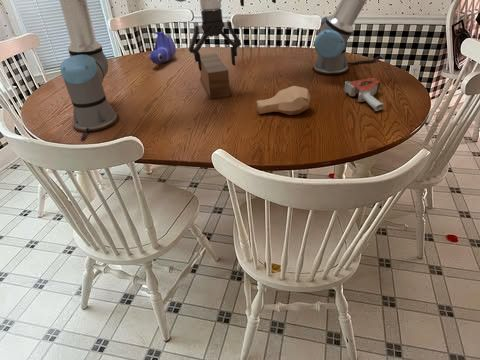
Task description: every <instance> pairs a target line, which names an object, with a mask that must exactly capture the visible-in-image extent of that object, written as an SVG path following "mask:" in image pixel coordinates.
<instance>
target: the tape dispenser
mask: <svg viewBox="0 0 480 360" xmlns="http://www.w3.org/2000/svg"><path fill="white" fill-rule="evenodd" d="M380 81H381V80H378V79H377V78H376V77H368V78H363V79H357V80H352V81H348V80H347V81H345V82H344V89H343V90H344V93H346V94H348V95H349V96H350V97H356V95H357V93H358V97H357V102H358V103H362V102H366V103H367V104H368V105H369V106H370V107H371V108H372V109H373V111H374V112H378V111H381V110H382V109H383V108H384V103H383V102H381V101H380V100H378V99H377V98H375V97H374V95H377V94H378V93H379V89H380V85H381V82H380ZM364 82H366V84H365V85H362V83H364Z"/></svg>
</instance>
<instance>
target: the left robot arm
mask: <svg viewBox="0 0 480 360" xmlns="http://www.w3.org/2000/svg"><path fill="white" fill-rule="evenodd" d="M175 1H177V2H179V3H180V2H181V3H182V2H185V1H187V0H175ZM199 2H200V3H199V6H200V9H201V11H200V14H201V24H199V25H197V24H194V26H193V34H192V37H191V40H190V44H189V48H188V52H189V53H190V54H193V55H194V61H195V62H196V63H197V66H198V69H199V72H200V71H201V70H202V68H201V60H200V55H201V54H200V52H199V51H200V49H201V48H202V46H203V45H204V43H205V41H206V40H207V39H208V38H209V37H210V38H212V37H218V36H220V35H221V36H222V38H224V39H225V41H227V42H228V43H229V44H230V56H231V65H232V66H233V67H235V66H236V57H237V56H238V49H237V48H238V47H241V46H242V42H241V41H240V39H239V37H238V36H237V34H236V32H235V30H234V29H233V26H232V25H233V24H232V22H231V21H230V20H226V21H224V19H223V9H221V8H222V1H221V0H199ZM59 3H60V7H61V11H62V15H63V18H64V22H65V26H66V30H67V34H68V37H69V40H70V44H69V46H68V47H67V51H68V54H69V57H68V58H65V59H63V61H62V62H61V63H60V65H59V69H60V74H61V77H62V79H63V82H64V84H65V87H66V90H67V93H68V96H69V99H70V101H71V104H72V108H73V114H72V117H73V118H72V119H73V125H74V128H75V129H76V131H78V132H83V134H82V136H81V138H80V140H81V141H83V140H85V137H86V135H87V133H92V132H99V131H102V130H105V129H107V128H110V127H111V126H113V125H115V124H116V122H117V121H118V116H117V113H116V111H115V110H114V108H113V107H112V105H111V103H110V102H109V101H108V99H107V96H106V92H105V89H104V87H103V86H104V85H103V81H104V79H105V78H106V75H107V74H108V70H109V62H108V58H107V56H106V54H105V53H104V51H103V47H102V44H101V43H100V42H99V41H97V40H96V35H95V29H94V26H93V21H92V18H91V17H92V16H91V12H90V8H89V5H88V0H59ZM224 28H226V29H227V30H228V31H229V33H230V34H231V36H232V38H233V39H234V41H235V42H234V41H233V40H232V39H231V38H230V37H229V36H228V35H227V34H226V33H225V32H224V31H223V29H224ZM201 30H203V33H202V35H201V37H200V38H199V40H198V42H197V39H198V36H199V33H200V32H201ZM196 42H197V43H196Z"/></svg>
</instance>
